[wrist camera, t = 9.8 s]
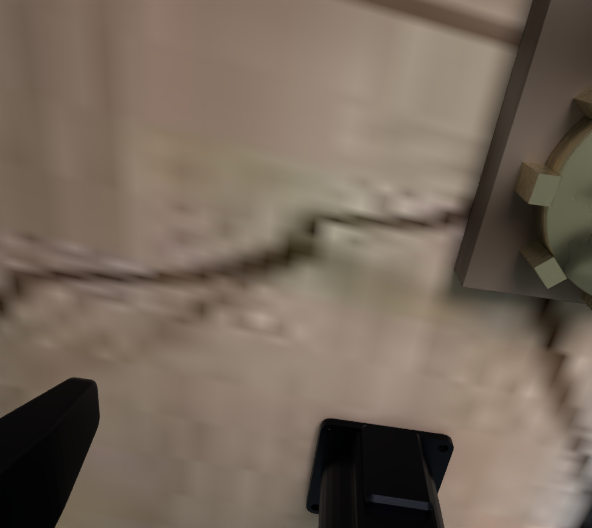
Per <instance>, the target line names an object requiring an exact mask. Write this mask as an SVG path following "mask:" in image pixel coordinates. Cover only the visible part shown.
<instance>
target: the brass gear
mask: <svg viewBox="0 0 592 528" xmlns="http://www.w3.org/2000/svg"><path fill="white" fill-rule="evenodd" d="M573 99H574V101H575V102H576V104H577V106H578V108H579V110H580V112H581V114H582V115H583V116H584V117H583V118H581V119H580V120H579V121H578V122H577V123H576V124H575V125H574V126H573V127H571V129H570V130H569V131H568V132H567V133H566V134H565V135H564V136H563V137H562V138H561V140H560V141H559V142H558V144H557V145H556V146H555V148H554V149H553V151H552V152H551V154H550V155H549V157H548V159H547V161H546V162H545V164H544V165H543V164H537V163H530V162H522V165H521V168H520V171H519V174H518V177H517V180H516V183H515V186H514V189H513V190H514V191H515V192H516V193H517V194H518V195H520V196H521V197H522V198H523V199H524V200H525V201H526V202H527V203H528V204H533V221H534V227H535V231H536V234H537V237H538V240H539V241H538V240H536V241H534V242H532V243H530V244H529V245H527V246H525V247H524V248H522V249H520V252H521V253H522V255H523V256H524V258H525V260H526V261H527V263H528V264H529V266H530V267H531V269H532V270H533V271H534V273H535V274H536V275H537V276H538V278H539V279H540V280H541V281H542V283H543V284H544V285H545V286H546V288H547V289H549V288H550V287H552V286H554V285H556V284H558V283H560V282H562V281H563V280H565V279H567V277H568V278H569V279H570V280H571V281H572V282H573V283H574V284H575V285H576V286H578V287H579V288H580V289H582V290H583V291H585V292H584V294H583V296H582V298H581V299H582V300H583V301H584V302H585V303H586V304H587V305H588V306H589V307H590V309H591V310H592V86H590V87H589V88H587V89H586V90H584V91H583V92H581V93H580V94H578V95H577V96H575V97H574V98H573ZM565 275H566V276H567V277H566V276H565Z"/></svg>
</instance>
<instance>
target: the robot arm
mask: <svg viewBox="0 0 592 528" xmlns="http://www.w3.org/2000/svg"><path fill="white" fill-rule="evenodd" d="M99 419H100V411H99V400H98V388H97V384H96V382H95V381H93V380H90V379H83V378H76V377H75V378H70V379H67V380H66V381H64V382H62V383H60V384H59V385H57V386H55V387H53V388H52V389H50V390H48V391H47V392H45V393H43V394H41V395H40V396H38V397H36V398H34V399H33V400H31V401H29V402H27V403H26V404H24V405H22V406H21V407H19V408H17V409H15V410H14V411H12V412H10V413H8V414H7V415H5V416H3V417H1V418H0V528H55V526H56V524H57V522H58V520H59V518H60V516H61V514H62V512H63V510H64V508H65V505H66V503H67V501H68V498H69V496H70V494H71V491H72V489H73V486H74V484H75V482H76V479H77V477H78V474H79V472H80V469H81V467H82V465H83V462H84V460H85V457H86V455H87V453H88V450H89V448H90V445H91V443H92V440H93V438H94V436H95V433H96V431H97V428H98V425H99ZM328 428H332V429H333V430H329V429H328ZM443 444H445V445H443ZM440 445H443V446H440ZM453 449H454V446H453V443H452V440H451V438H450V437H449V436H447V435H444V434H437V433H430V432H423V431H416V430H409V429H402V428H395V427H388V426H381V425H374V424H367V423H360V422H353V421H346V420H339V419H325V420H324V421H323V422H322V423H321V426H320V432H319V437H318V442H317V448H316V453H315V458H314V464H313V469H312V474H311V480H310V485H309V491H308V496H307V505H306V507H307V510H308V511H309V512H311V513H314V514H319V528H444V523H443V518H442V514H441V509H440V504H439V500H438V495H437V494H438V491H439V488H440V486H441V483H442V480H443V477H444V475H445V472H446V469H447V466H448V463H449V461H450V458H451V455H452V452H453Z"/></svg>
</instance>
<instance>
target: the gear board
mask: <svg viewBox="0 0 592 528" xmlns="http://www.w3.org/2000/svg"><path fill="white" fill-rule="evenodd" d="M590 86H592V0H533V3H532V6H531V10H530V13H529V17H528V20H527V23H526V27H525V30H524V34H523V37H522V40H521V44H520V47H519V51H518V54H517V57H516V61H515V64H514V68H513V71H512V74H511V78H510V81H509V85H508V88H507V91H506V95H505V98H504V102H503V105H502V108H501V112H500V115H499V119H498V122H497V125H496V129H495V132H494V136H493V139H492V142H491V146H490V149H489V153H488V156H487V159H486V163H485V166H484V170H483V173H482V176H481V180H480V183H479V187H478V190H477V193H476V197H475V200H474V204H473V207H472V210H471V214H470V217H469V221H468V224H467V227H466V231H465V234H464V238H463V241H462V244H461V248H460V251H459V255H458V258H457V261H456V265H455V268H454V270H455V272H456V274H457V276H458V278H459V280H460V282H461V285H462V287H468V288H475V289H482V290H490V291H497V292H504V293H511V294H519V295H526V296H533V297H540V298H547V299H555V300H562V301H569V302H576V303H584V304H586V303H585V302H584V301H583V300H582V299H581V298H582V296H583V294H584V292H585V291H583V290H582V289H580V288H579V287H578V286H576V285H575V284H574V283H573V282H572V281H571V280H570V279H569V278H568V277H567V276H566V275H565V276H566V277H567V279H565V280H563V281H562V282H560V283H558V284H556V285H554V286H552V287H550V288H549V289H547V288H546V286H545V285H544V284H543V283H542V281H541V280H540V279H539V278H538V276H537V275H536V274H535V273H534V271H533V270H532V269H531V267H530V266H529V264H528V263H527V261H526V260H525V258H524V256H523V255H522V253H521V252H520V249H522V248H524V247H525V246H527V245H529V244H530V243H532V242H534V241H536V240H538V237H537V234H536V231H535V227H534V221H533V204H528V203H527V202H526V201H525V200H524V199H523V198H522V197H521V196H520V195H518V194H517V193H516V192H515V191H514V190H513V189H514V186H515V183H516V180H517V177H518V174H519V171H520V168H521V165H522V162H530V163H537V164H543V165H544V164H545V162H546V161H547V159H548V157H549V155H550V154H551V152H552V151H553V149H554V148H555V146H556V145H557V144H558V142H559V141H560V140H561V138H562V137H563V136H564V135H565V134H566V133H567V132H568V131H569V130H570V129H571V127H573V126H574V125H575V124H576V123H577V122H578V121H579V120H580V119H581V118H583V117H584V116H583V115H582V114H581V112H580V110H579V108H578V106H577V104H576V102H575V101H574V99H573V98H574V97H575V96H577V95H578V94H580V93H581V92H583V91H584V90H586V89H587V88H589V87H590ZM538 241H539V240H538Z"/></svg>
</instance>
